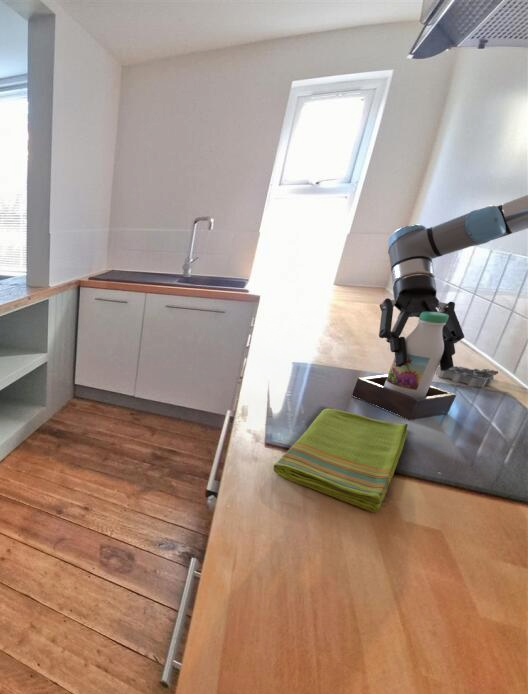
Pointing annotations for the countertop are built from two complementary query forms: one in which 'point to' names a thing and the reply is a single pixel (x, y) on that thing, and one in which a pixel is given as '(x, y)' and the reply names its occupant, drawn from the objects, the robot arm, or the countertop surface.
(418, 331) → the milk bottle
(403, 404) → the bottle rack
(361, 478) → the dish towel
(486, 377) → the egg carton
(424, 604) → the countertop surface
